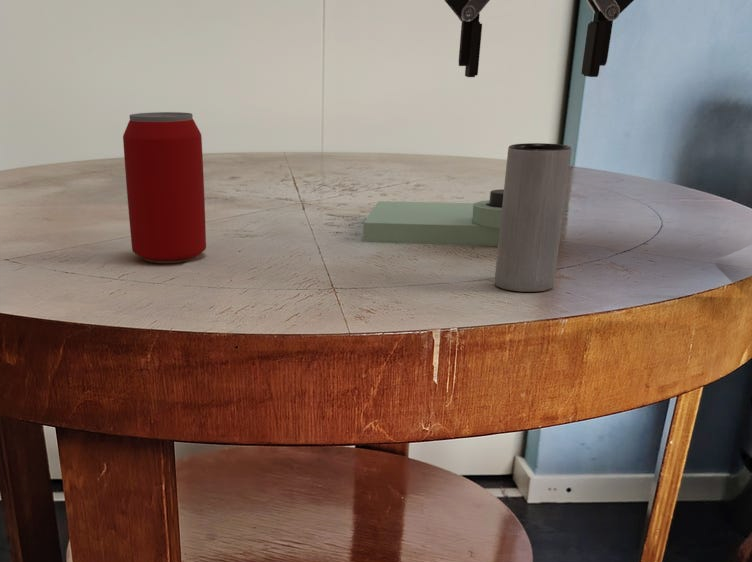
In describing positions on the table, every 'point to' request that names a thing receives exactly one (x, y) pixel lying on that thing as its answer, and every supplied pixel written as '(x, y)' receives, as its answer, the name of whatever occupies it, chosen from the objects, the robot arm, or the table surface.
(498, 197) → the button
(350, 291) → the table surface
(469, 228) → the green flat block
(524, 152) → the grey cylinder
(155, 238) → the beverage can
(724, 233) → the table surface
